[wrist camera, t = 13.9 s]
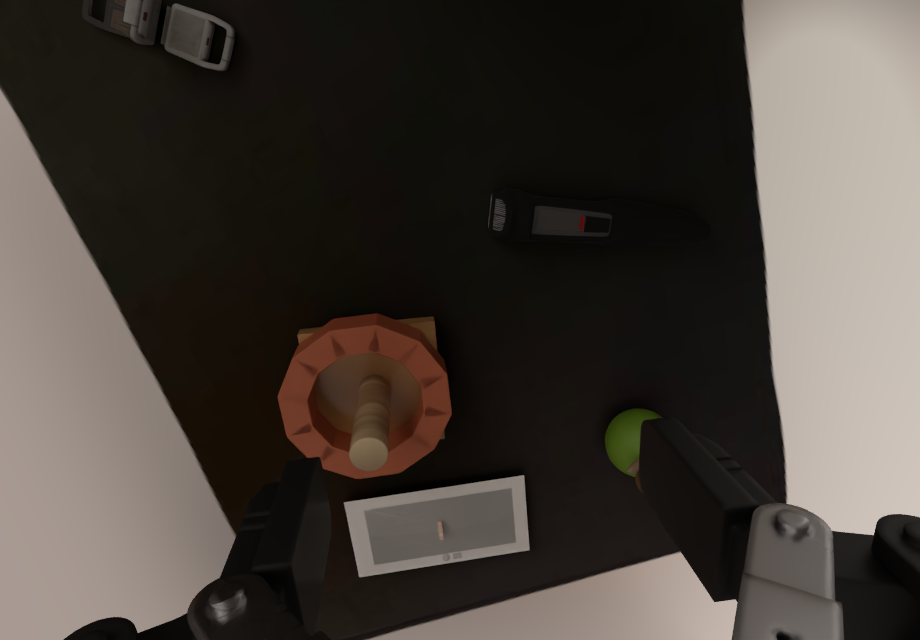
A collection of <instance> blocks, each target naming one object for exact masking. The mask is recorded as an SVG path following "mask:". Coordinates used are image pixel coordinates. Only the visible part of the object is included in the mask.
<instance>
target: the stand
mask: <svg viewBox="0 0 920 640" xmlns="http://www.w3.org/2000/svg"><path fill="white" fill-rule="evenodd" d="M397 321H399V322H402V323H404V324H407V325H410V326H412V327H415V328H418V329H419V330H420V331H421V332H422V333H423V335H424V336H425V337H426V338H427V340H428V341H429V342H430V343H431V344H432V346H433V347H434V348H435V349H436V351H437V342H436V330H435V320H434V316H431V317H421V318H410V319H400V320H397ZM320 328H322V327H318V328H307V329H300V331H299V333H298V341H299V344H300V343H301V342H303V341H304V340H305V339H307V338H308V337H309V336H311V335H312V334H314V333H315V332H316V331H318V330H319V329H320ZM313 389H314V394H315V399H316V403H317V408H318V410H319V411H320V413H321V414H322V415H323V416H324V417H325V418H326V419H327V420H328V421H329V422H330V423H331V424H332V425H333V426H334V427H335V428H336V429H338V430H341V431H344V432H347V433H350V434H352V436H351V443H350V450H349V458H350V461H351V463H352V464H353V465H354V466H355V467H356V468H358V469H360V470H363V471H375V470H377V469H379V468H381V467H382V466H383V465H384V464H385V463H386V462H387V460H388V457H389V434H391V433H392V432H394V431H395V430H396V429H398V428H399V427H401V426H402V425H404V424H405V423H406V422H408V421H409V420H411V419H412V417H413V415H414V413H415V410H416V408H417V406H418V404H419V402H420V400H421V398H422V393H421V386H420V384H419V382H418V381H417V380H416V379H415V378H414V376H413V375H412V374H411V373H410V372H409V371H408V369H407V368H406V367H405V366H404V365H403V364H402V363H401V362H399V361H396V360H393V359H390V358H388V357H385V356H382V355H379V354H377V353H374V352H373V353H365V354H357V355H350V356H342V357H341V358H339V359H338V360H337V361H335V362H334V363H333V364H331V365H330V366H328V367H327V368H326V369H324V370H323V371H322V372H320V373H319V374H318V376H317V378H316V380H315V383H314V385H313ZM440 439H445V434H444V431H443V433H442V435H441V437H440Z"/></svg>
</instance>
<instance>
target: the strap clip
mask: <svg viewBox="0 0 920 640" xmlns="http://www.w3.org/2000/svg"><path fill="white" fill-rule="evenodd" d="M92 2H93V0H84V1H83V7H82V16H83V17H84V19H86V20H87V21H88V22H90V23H92V24H94V25H95V26H97V27H99V28H101V29H103V30H106V31H110V32H113V33H116V34H119V35H123V36H126V37H129V38H130V39H131V40H132V41H134V42H136V43H139V44H144V45H153V44H154V42H155V37H156V31H157V26H158V20H159V14H160V9H161V3H162V0H107V4H106V10H105V17H104V23H103V22H101V21H99V20H97V19H95V18H93V17H92V16H91V9H92ZM216 24H218V25H220V26H222V27H223V28H225V29H226V30H227V36H226V41H225V45H224V50H223V55H222V59H221V62H220V64H218V65H217V64H213V63H209V62H208V59H209V54H210V49H211V44H212V39H213V34H214V30H215V25H216ZM234 38H235V30H234V28H233V27H232V26H231V25H229V24H228V23H226V22H224V21H222V20H221V19H219V18H217V17H215V16H213V15H210V14H207V13H204V12H201V11H198V10H195V9H192V8H188V7H185V6H182V5H179V4H173V6H172V7H168V6H167V11H166V17H165V22H164V27H163V33H162V38H161V43H162V44H164V46H165V49H166V51H168V52H170V53H172V54H175V55H177V56H179V57H181V58H184V59H186V60H188V61H190V62H193V63H195V64H197V65H200V66H202V67H205V68H208V69H213V70H217V71H225V70H227V68H228V66H229V62H230V59H231V55H232V50H233V46H234V41H235V40H234Z"/></svg>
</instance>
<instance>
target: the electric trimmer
mask: <svg viewBox="0 0 920 640" xmlns="http://www.w3.org/2000/svg"><path fill="white" fill-rule="evenodd" d="M491 195H492V196H491V207H490V214H489V222H488V228H489V229H488V231H489V234H490V236H492V237H495V238H499V239H500V240H503V241H506V242H512V243H514V242H566V243H589V244H598V245H601V246H604V247H656V246H684V245H692V244H696V243H700V242H703V241H705V240H707V239H708V238H709V236H710V234H711V228H710V225H709V224H708V223H707V222H706V221H705V220H704V219H703V218H701V217H700V216H699V215H697V214H696V213H693V212H690V211H686V210H681V209H676V208H671V207H666V206H661V205H656V204H650V203H645V202H640V201H635V200H629V199H623V198H616V197H613V198H609V199H606V200H598V201H590V200H579V199H568V198H556V197H548V196H540V195H532V194H528V193H525V192H523V191H521V190H519V189H515V188H504V189H503V190H502V191H494V192H493V193H492V194H491Z"/></svg>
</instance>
